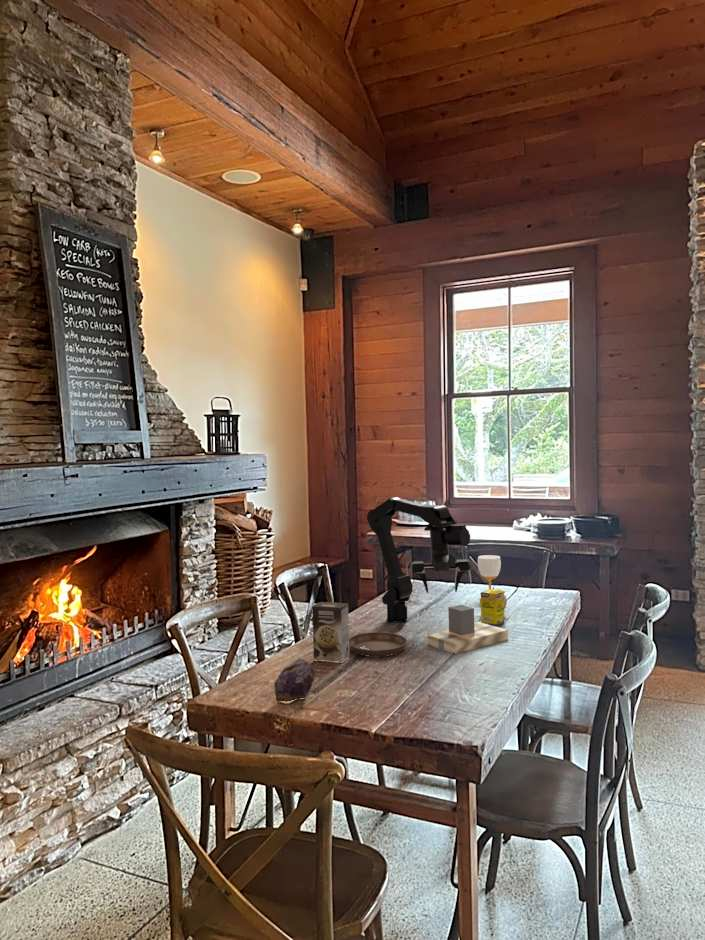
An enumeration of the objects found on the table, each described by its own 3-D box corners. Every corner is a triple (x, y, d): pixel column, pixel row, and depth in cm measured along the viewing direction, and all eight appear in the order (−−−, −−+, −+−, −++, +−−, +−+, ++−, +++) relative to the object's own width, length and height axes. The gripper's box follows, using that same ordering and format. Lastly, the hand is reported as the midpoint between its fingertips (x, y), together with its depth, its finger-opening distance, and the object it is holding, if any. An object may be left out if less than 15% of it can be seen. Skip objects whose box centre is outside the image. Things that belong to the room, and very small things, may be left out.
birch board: (455, 654, 210) (454, 643, 209) (427, 644, 219) (427, 635, 219) (508, 639, 222) (507, 629, 222) (479, 631, 232) (479, 622, 232)
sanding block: (449, 633, 221) (448, 607, 220) (461, 630, 223) (461, 604, 223) (461, 637, 216) (461, 611, 215) (474, 634, 218) (473, 608, 218)
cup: (506, 597, 277) (505, 556, 276) (493, 602, 270) (492, 559, 269) (486, 594, 283) (485, 554, 282) (473, 599, 276) (472, 557, 276)
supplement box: (497, 627, 237) (496, 594, 236) (480, 624, 240) (479, 592, 240) (505, 622, 241) (504, 590, 241) (488, 620, 245) (488, 588, 244)
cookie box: (312, 661, 207) (310, 606, 206) (321, 655, 213) (319, 600, 212) (342, 664, 204) (340, 607, 203) (350, 657, 210) (348, 602, 209)
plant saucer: (418, 651, 214) (418, 641, 214) (368, 663, 205) (368, 652, 205) (385, 638, 229) (385, 628, 229) (337, 648, 220) (336, 638, 220)
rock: (270, 708, 176) (308, 711, 173) (265, 676, 174) (304, 678, 171) (289, 685, 187) (325, 687, 183) (285, 654, 185) (321, 656, 182)
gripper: (411, 549, 228) (413, 598, 228) (470, 546, 227) (473, 596, 227) (410, 544, 239) (412, 591, 239) (467, 542, 238) (469, 589, 238)
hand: (441, 592), depth 236 cm, fingers open, 9 cm apart
